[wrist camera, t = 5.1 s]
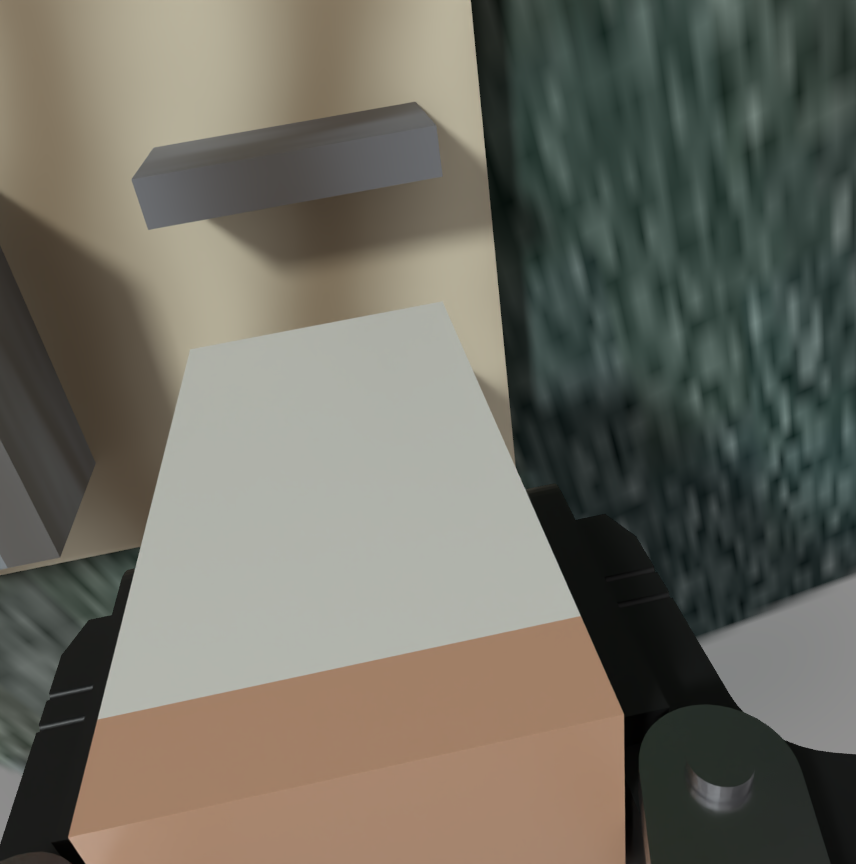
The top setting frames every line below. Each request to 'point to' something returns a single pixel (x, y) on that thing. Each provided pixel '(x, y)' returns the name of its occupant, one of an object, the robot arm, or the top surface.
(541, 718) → the plug
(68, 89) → the panel
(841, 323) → the top surface
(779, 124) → the top surface
